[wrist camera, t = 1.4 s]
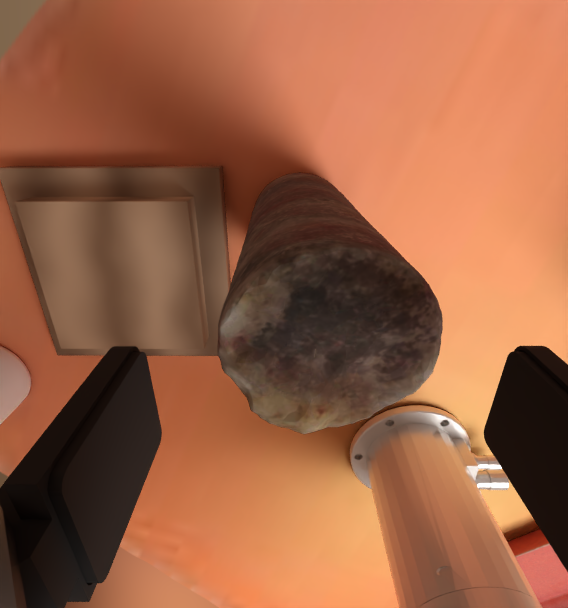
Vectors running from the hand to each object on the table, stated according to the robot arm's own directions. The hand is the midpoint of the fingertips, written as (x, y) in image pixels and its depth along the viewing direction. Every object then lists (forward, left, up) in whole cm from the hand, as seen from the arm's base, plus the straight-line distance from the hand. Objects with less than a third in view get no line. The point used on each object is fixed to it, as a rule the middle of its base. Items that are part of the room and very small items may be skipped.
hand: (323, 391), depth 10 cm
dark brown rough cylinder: (0, 0, -22) cm, 22 cm away
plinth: (+14, +4, -21) cm, 26 cm away
